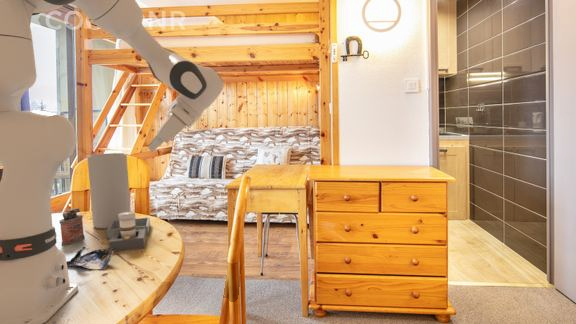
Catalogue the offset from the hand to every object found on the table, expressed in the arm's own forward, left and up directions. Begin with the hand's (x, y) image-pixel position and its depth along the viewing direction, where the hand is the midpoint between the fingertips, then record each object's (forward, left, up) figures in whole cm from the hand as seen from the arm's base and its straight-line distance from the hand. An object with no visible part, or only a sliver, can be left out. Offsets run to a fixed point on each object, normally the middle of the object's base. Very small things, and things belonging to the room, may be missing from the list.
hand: (150, 148), depth 115 cm
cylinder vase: (+27, +16, -28) cm, 42 cm away
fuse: (0, +8, -28) cm, 29 cm away
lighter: (+10, +25, -28) cm, 39 cm away
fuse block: (0, +8, -28) cm, 29 cm away
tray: (+14, +9, -28) cm, 33 cm away
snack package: (-14, +16, -29) cm, 36 cm away
